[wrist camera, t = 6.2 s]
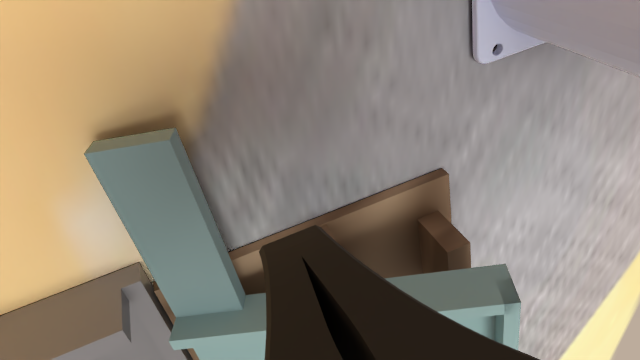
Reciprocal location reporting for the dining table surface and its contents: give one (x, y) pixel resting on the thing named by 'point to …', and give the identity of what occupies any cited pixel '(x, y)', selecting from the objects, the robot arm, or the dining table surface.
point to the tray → (93, 323)
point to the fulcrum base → (376, 235)
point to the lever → (216, 266)
